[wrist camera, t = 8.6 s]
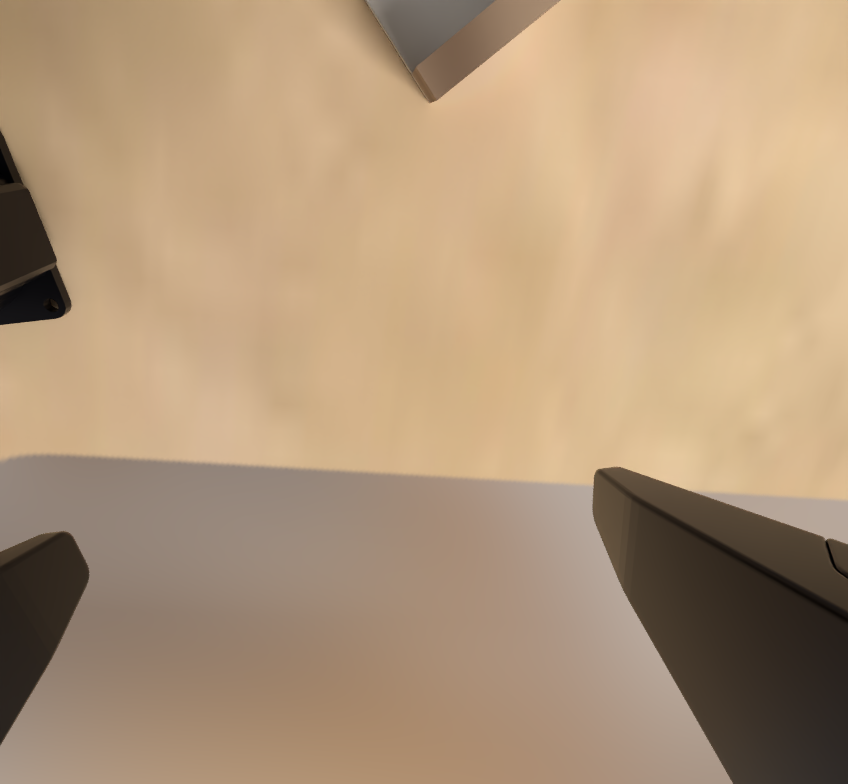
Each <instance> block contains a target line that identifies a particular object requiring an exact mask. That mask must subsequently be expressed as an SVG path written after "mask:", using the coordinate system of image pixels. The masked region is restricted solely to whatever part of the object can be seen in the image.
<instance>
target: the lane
mask: <svg viewBox="0 0 848 784" xmlns="http://www.w3.org/2000/svg"><path fill="white" fill-rule="evenodd" d="M559 1H560V0H365V2H366V3H367V5H368V6H369V8H370V10H371V11H372V13H373V14H374V16H375V18H376V19H377V21H378V22H379V24H380V26H381V27H382V29H383V30H384V32H385V34H386V35H387V37H388V38H389V40H390V41H391V43H392V45H393V46H394V48H395V49H396V51H397V53H398V54H399V56H400V57H401V59H402V61H403V62H404V64H405V65H406V67H407V69H408V70H409V72H410V73H411V75H412V77H413V78H414V80H415V81H416V83H417V84H418V86H419V88H420V89H421V91H422V92H423V94H424V96H425V97H426V99H427V100H428V102H429V103H431V102H434V101H437V100H438V99H439V98H440V97H442V96H443V95H444V94H445V93H447V92H448V91H449V90H450V89H452V88H453V87H454V86H455V85H457V84H458V83H459V82H460V81H461V80H463V79H464V78H465V77H466V76H468V75H469V74H470V73H471V72H473V71H474V70H475V69H476V68H478V67H479V66H480V65H481V64H483V63H484V62H485V61H486V60H487V59H489V58H490V57H491V56H492V55H494V54H495V53H496V52H497V51H499V50H500V49H501V48H502V47H504V46H505V45H506V44H507V43H508V42H510V41H511V40H512V39H513V38H515V37H516V36H517V35H518V34H520V33H521V32H522V31H523V30H525V29H526V28H527V27H528V26H529V25H531V24H532V23H533V22H534V21H536V20H537V19H538V18H539V17H541V16H542V15H543V14H544V13H546V12H547V11H548V10H549V9H550V8H552V7H553V6H554V5H555V4H557V3H558V2H559Z"/></svg>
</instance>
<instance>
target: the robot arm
mask: <svg viewBox="0 0 848 784" xmlns="http://www.w3.org/2000/svg"><path fill="white" fill-rule="evenodd" d="M56 261H57V259H56V256H55V254H54V251H53V249H52V246H51V244H50V241H49V239H48V236H47V234H46V231H45V229H44V227H43V224H42V222H41V219H40V217H39V214H38V212H37V209H36V207H35V204H34V202H33V199H32V197H31V195H30V192H29V190H28V189H27V188H26V187H24V185H23V183H22V181H21V178H20V176H19V173H18V171H17V168H16V166H15V163H14V161H13V159H12V156H11V154H10V151H9V149H8V146H7V144H6V141H5V139H4V137H3V135H2V133H1V132H0V325H4V324H13V323H21V322H30V321H39V320H48V319H56V318H60V317H62V316H64V315H65V314H67V313H68V312H69V311H70V310H71V306H72V305H71V300H70V298H69V296H68V293H67V291H66V288H65V286H64V283H63V281H62V278H61V276H60V274H59V271H58V269H57V266H56ZM50 299H53V300H55V301H56V302H57V304H58V307H59V308H58V309H57V308H55V307H53V306H52V305H51V304H50ZM593 516H594V521H595V523H596V526H597V529H598V531H599V533H600V536H601V538H602V541H603V543H604V546H605V548H606V550H607V553H608V555H609V558H610V560H611V563H612V565H613V567H614V570H615V572H616V575H617V577H618V580H619V582H620V584H621V586H622V588H623V591H624V593H625V594H626V596H627V598H628V600H629V602H630V604H631V605H632V607H633V609H634V611H635V612H636V614H637V616H638V618H639V619H640V621H641V623H642V624H643V626H644V628H645V630H646V632H647V633H648V635H649V637H650V639H651V641H652V642H653V644H654V646H655V648H656V649H657V651H658V653H659V654H660V656H661V658H662V660H663V661H664V663H665V665H666V666H667V668H668V670H669V672H670V674H671V676H672V677H673V679H674V681H675V683H676V684H677V686H678V688H679V690H680V691H681V693H682V695H683V697H684V698H685V700H686V702H687V704H688V705H689V707H690V709H691V711H692V712H693V714H694V716H695V718H696V719H697V721H698V723H699V725H700V726H701V728H702V730H703V732H704V733H705V735H706V737H707V739H708V740H709V742H710V744H711V746H712V747H713V749H714V751H715V753H716V754H717V756H718V758H719V760H720V761H721V763H722V765H723V767H724V768H725V770H726V772H727V774H728V775H729V777H730V779H731V781H732V782H733V784H848V544H845V543H842V542H839V541H837V540H834V539H827V540H826V541H825V538H824V537H822V536H819V535H816V534H813V533H810V532H807V531H804V530H802V529H799V528H796V527H793V526H790V525H787V524H784V523H781V522H778V521H775V520H772V519H770V518H767V517H764V516H761V515H758V514H755V513H752V512H749V511H746V510H743V509H740V508H738V507H735V506H732V505H729V504H726V503H723V502H720V501H717V500H714V499H711V498H709V497H706V496H703V495H700V494H697V493H694V492H691V491H688V490H685V489H682V488H679V487H677V486H674V485H671V484H668V483H665V482H662V481H659V480H656V479H653V478H650V477H647V476H645V475H642V474H639V473H636V472H633V471H630V470H627V469H624V468H621V467H611V468H603V469H598V470H597V471H596V472H595V475H594V488H593ZM88 580H89V568H88V565H87V563H86V561H85V559H84V557H83V555H82V553H81V551H80V549H79V547H78V545H77V543H76V541H75V539H74V537H73V536H72V535H71V534H70V533H68V532H65V531H61V532H53V533H45V534H41V535H38V536H36V537H34V538H31V539H29V540H27V541H25V542H22V543H20V544H18V545H15V546H13V547H10V548H8V549H6V550H4V551H2V552H0V745H1V744H2V742H3V740H4V739H5V737H6V735H7V733H8V732H9V730H10V728H11V727H12V725H13V723H14V722H15V720H16V719H17V717H18V715H19V714H20V712H21V710H22V708H23V707H24V705H25V703H26V702H27V700H28V698H29V697H30V695H31V693H32V692H33V690H34V688H35V687H36V685H37V683H38V682H39V680H40V678H41V677H42V675H43V673H44V672H45V670H46V668H47V666H48V665H49V663H50V661H51V659H52V657H53V655H54V653H55V651H56V649H57V647H58V645H59V643H60V641H61V639H62V637H63V635H64V633H65V630H66V628H67V626H68V624H69V622H70V620H71V618H72V616H73V613H74V611H75V609H76V607H77V605H78V603H79V601H80V599H81V596H82V594H83V592H84V590H85V588H86V586H87V583H88Z"/></svg>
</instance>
